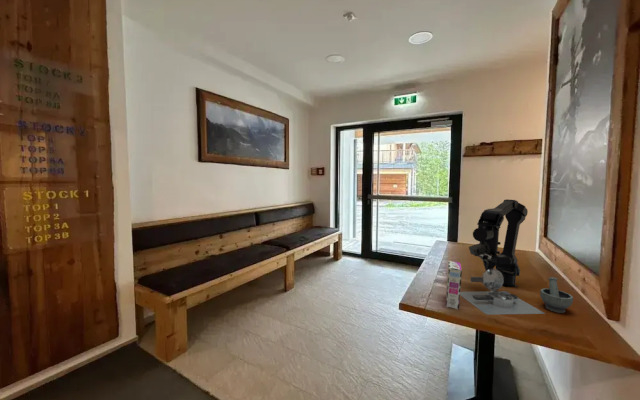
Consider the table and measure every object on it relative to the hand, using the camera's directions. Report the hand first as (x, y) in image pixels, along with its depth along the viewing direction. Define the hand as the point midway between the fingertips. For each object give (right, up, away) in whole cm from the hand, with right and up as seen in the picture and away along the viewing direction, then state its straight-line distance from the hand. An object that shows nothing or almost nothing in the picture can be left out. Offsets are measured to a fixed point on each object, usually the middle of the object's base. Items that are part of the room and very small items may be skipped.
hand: (487, 273), depth 118 cm
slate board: (0, -11, -6) cm, 12 cm away
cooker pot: (-2, -10, -7) cm, 13 cm away
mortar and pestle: (+20, -12, -11) cm, 25 cm away
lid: (-2, -2, -4) cm, 5 cm away
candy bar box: (-20, -11, -8) cm, 24 cm away
